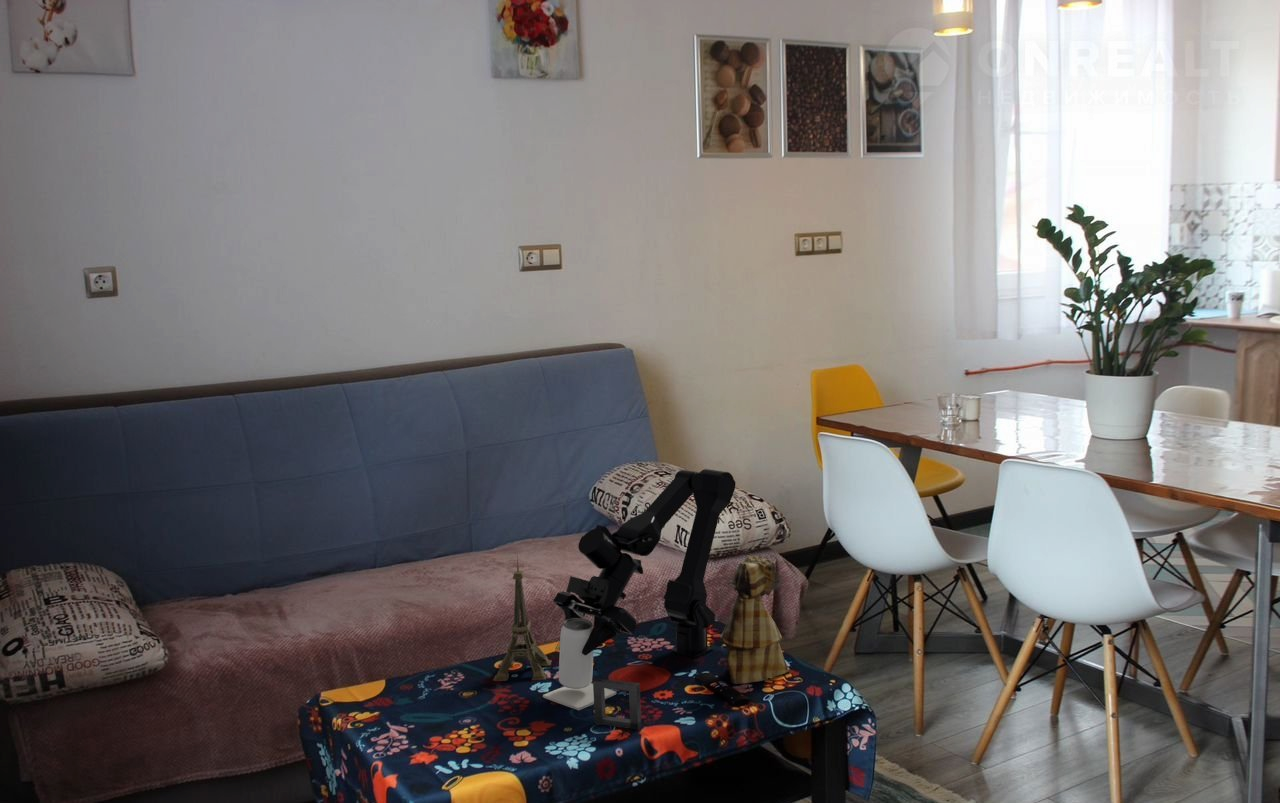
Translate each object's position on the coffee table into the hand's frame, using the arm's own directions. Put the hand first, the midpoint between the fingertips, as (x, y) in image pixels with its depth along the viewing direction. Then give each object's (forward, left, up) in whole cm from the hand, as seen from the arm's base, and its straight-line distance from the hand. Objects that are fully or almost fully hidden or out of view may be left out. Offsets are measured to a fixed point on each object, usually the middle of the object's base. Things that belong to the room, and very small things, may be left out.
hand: (573, 650), depth 218 cm
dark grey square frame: (+4, +15, -9) cm, 18 cm away
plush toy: (-31, +18, -10) cm, 37 cm away
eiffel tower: (-3, -19, -10) cm, 22 cm away
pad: (-1, 0, -9) cm, 9 cm away
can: (-1, -1, -7) cm, 7 cm away
